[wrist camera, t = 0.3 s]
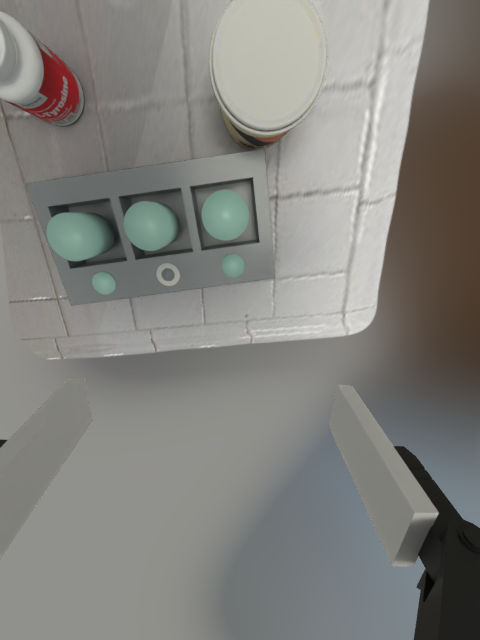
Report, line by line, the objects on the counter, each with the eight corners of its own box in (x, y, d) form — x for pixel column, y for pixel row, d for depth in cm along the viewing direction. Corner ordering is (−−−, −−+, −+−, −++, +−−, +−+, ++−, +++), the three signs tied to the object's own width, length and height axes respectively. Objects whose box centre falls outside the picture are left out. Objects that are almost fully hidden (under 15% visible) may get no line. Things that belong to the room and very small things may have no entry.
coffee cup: (229, 168, 34) (228, 148, 23) (205, 76, 31) (190, 0, 19) (303, 144, 33) (339, 111, 22) (286, 48, 30) (319, -48, 19)
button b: (134, 205, 32) (117, 204, 27) (175, 200, 32) (165, 198, 27) (145, 248, 34) (131, 253, 29) (183, 242, 33) (175, 247, 29)
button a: (67, 215, 32) (39, 216, 27) (107, 209, 32) (86, 209, 27) (81, 257, 34) (57, 264, 29) (119, 251, 34) (101, 258, 29)
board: (53, 187, 34) (23, 183, 29) (260, 157, 34) (264, 148, 29) (90, 294, 39) (70, 306, 35) (270, 270, 39) (275, 278, 34)
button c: (202, 196, 32) (197, 193, 27) (243, 190, 32) (245, 186, 27) (209, 239, 33) (206, 243, 29) (248, 233, 33) (251, 237, 29)
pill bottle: (64, 140, 33) (-14, 106, 22) (17, 91, 31) (-90, 31, 20) (97, 97, 31) (31, 41, 21) (50, 44, 29) (-48, -46, 19)
